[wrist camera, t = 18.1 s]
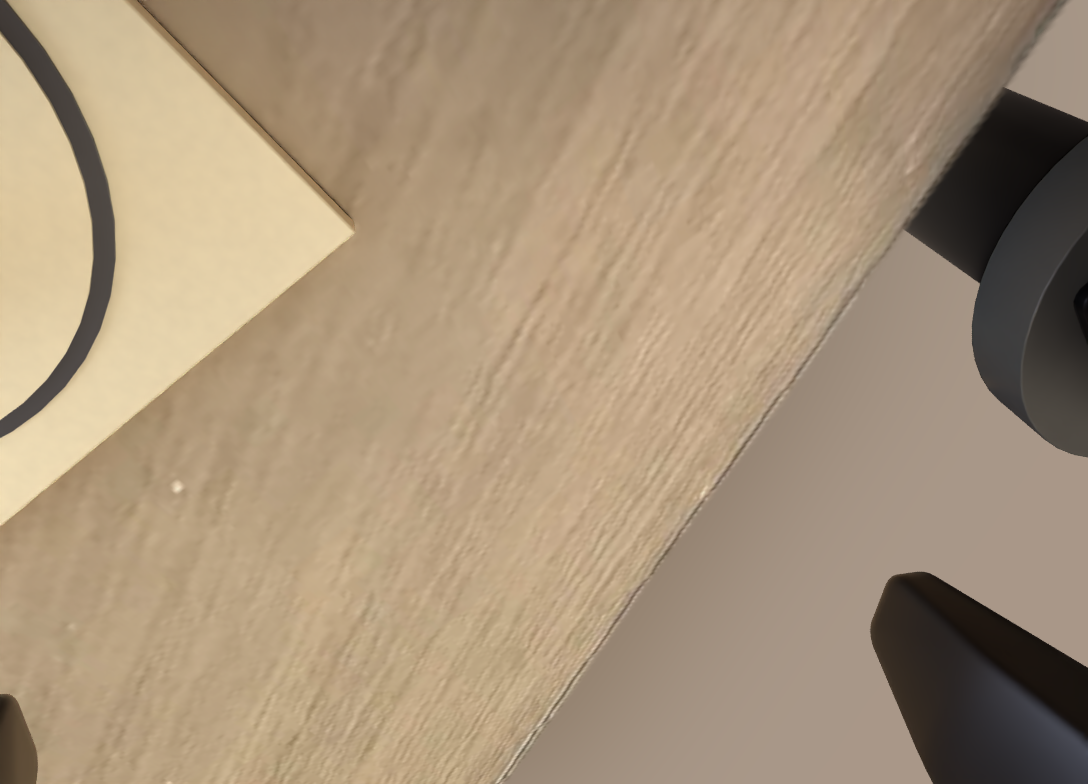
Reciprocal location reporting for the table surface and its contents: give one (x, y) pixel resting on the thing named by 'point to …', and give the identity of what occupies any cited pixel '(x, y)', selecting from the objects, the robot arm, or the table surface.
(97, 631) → the table surface
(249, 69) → the table surface
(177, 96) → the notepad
